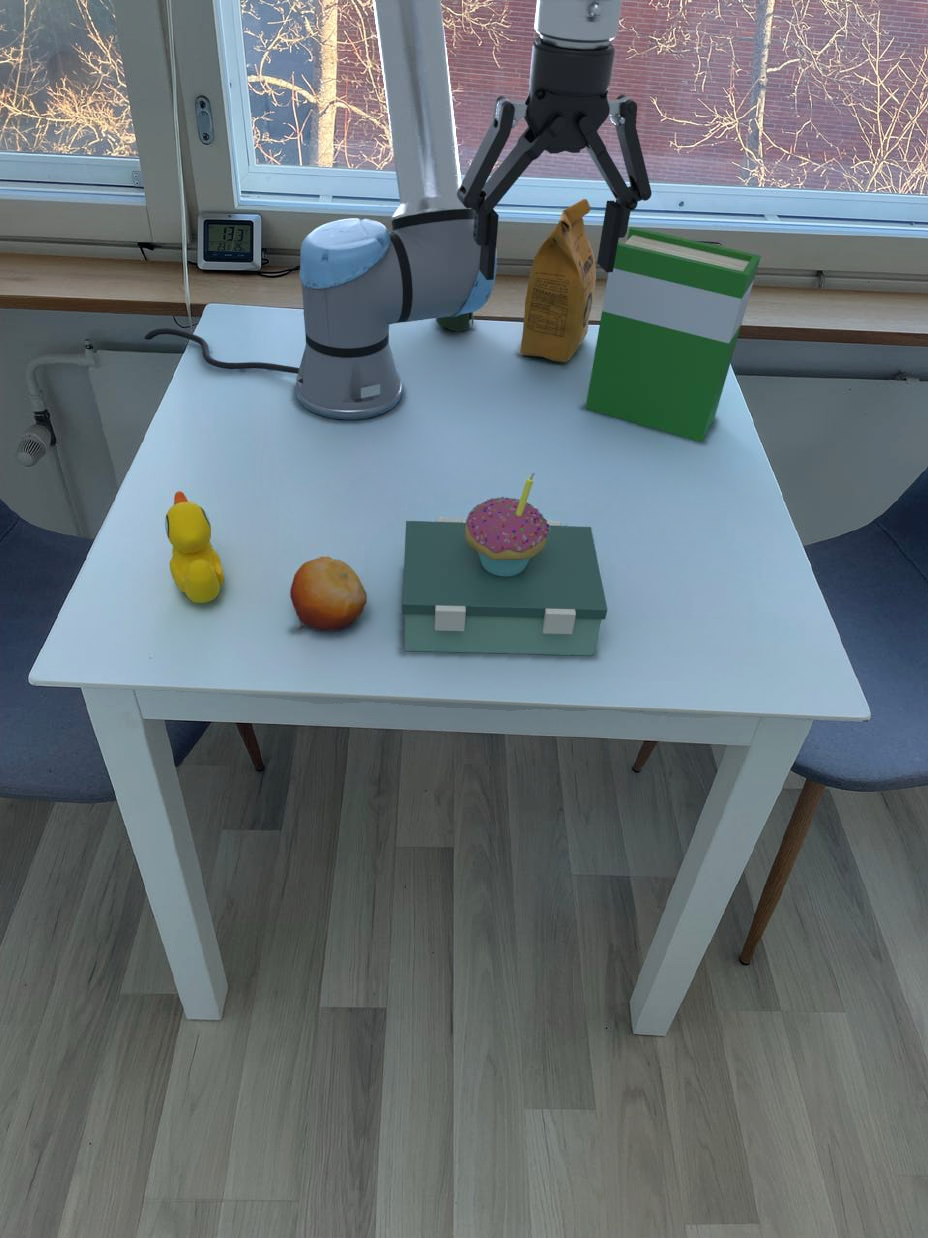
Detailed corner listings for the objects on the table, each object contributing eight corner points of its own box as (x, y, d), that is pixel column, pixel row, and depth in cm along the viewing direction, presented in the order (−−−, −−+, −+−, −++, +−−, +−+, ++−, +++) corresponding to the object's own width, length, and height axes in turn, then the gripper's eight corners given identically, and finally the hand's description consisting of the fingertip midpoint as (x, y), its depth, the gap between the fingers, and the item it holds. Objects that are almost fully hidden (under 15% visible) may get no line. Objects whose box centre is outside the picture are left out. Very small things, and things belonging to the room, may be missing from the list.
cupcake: (552, 549, 95) (567, 455, 87) (530, 598, 89) (544, 502, 81) (476, 530, 97) (484, 435, 89) (450, 577, 91) (456, 480, 83)
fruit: (276, 583, 97) (310, 534, 93) (340, 609, 100) (376, 563, 96) (270, 635, 91) (307, 585, 87) (338, 661, 95) (376, 614, 90)
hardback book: (585, 408, 131) (613, 243, 114) (602, 386, 136) (631, 226, 119) (701, 442, 126) (748, 275, 109) (714, 418, 131) (760, 255, 114)
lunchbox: (401, 658, 92) (402, 609, 87) (405, 564, 103) (406, 515, 98) (597, 663, 93) (608, 615, 88) (580, 569, 104) (590, 522, 99)
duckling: (166, 557, 101) (150, 485, 94) (214, 548, 103) (201, 477, 96) (183, 623, 94) (166, 549, 87) (234, 611, 96) (221, 539, 89)
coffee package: (595, 340, 147) (619, 202, 132) (567, 371, 139) (589, 227, 124) (541, 325, 150) (558, 188, 135) (510, 354, 142) (524, 212, 126)
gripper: (454, 48, 75) (443, 293, 89) (716, 48, 81) (666, 278, 95) (431, 28, 80) (425, 263, 95) (680, 30, 86) (638, 250, 101)
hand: (546, 271), depth 95 cm, fingers open, 13 cm apart
